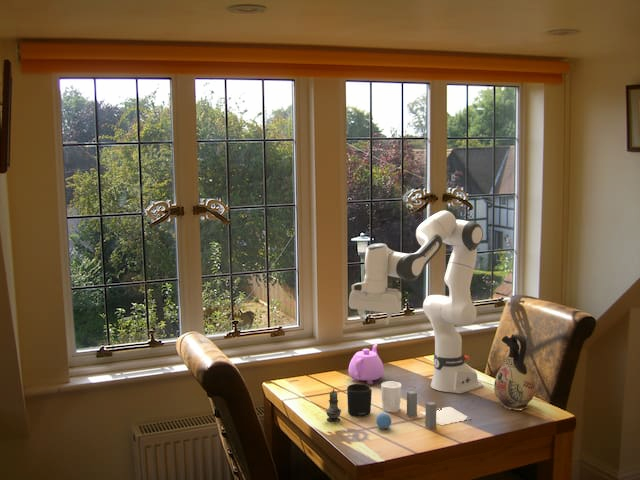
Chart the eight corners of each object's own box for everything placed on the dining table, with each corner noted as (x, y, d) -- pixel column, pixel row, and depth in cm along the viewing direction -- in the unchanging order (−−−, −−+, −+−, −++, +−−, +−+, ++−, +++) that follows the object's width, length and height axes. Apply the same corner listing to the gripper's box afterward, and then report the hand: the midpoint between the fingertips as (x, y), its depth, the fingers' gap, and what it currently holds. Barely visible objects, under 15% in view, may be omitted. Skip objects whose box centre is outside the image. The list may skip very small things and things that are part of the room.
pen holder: (343, 415, 264) (343, 390, 263) (352, 407, 273) (352, 382, 272) (366, 419, 261) (366, 393, 259) (374, 410, 269) (375, 385, 268)
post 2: (431, 425, 255) (432, 401, 253) (436, 427, 252) (436, 403, 251) (425, 426, 253) (425, 402, 252) (429, 429, 251) (429, 405, 250)
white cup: (388, 414, 265) (388, 389, 264) (377, 407, 272) (377, 383, 271) (405, 410, 269) (405, 385, 267) (393, 404, 276) (394, 380, 274)
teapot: (361, 369, 320) (361, 340, 318) (392, 374, 313) (392, 344, 311) (340, 383, 300) (340, 352, 299) (373, 389, 293) (373, 357, 291)
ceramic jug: (485, 402, 277) (487, 329, 273) (517, 397, 283) (519, 326, 279) (512, 417, 261) (514, 340, 257) (545, 412, 267) (548, 336, 263)
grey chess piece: (325, 417, 263) (325, 386, 261) (340, 416, 263) (340, 386, 262) (326, 423, 257) (326, 391, 255) (342, 422, 257) (342, 391, 256)
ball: (386, 424, 255) (386, 409, 255) (394, 429, 250) (394, 415, 250) (373, 426, 253) (373, 412, 252) (380, 432, 248) (381, 417, 247)
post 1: (412, 413, 266) (413, 390, 265) (416, 415, 264) (417, 392, 262) (406, 414, 265) (406, 391, 264) (410, 416, 262) (410, 394, 261)
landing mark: (449, 407, 272) (449, 406, 272) (471, 419, 260) (471, 418, 260) (419, 412, 266) (419, 412, 266) (440, 425, 254) (440, 425, 254)
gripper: (404, 288, 260) (403, 324, 261) (353, 283, 268) (352, 318, 270) (399, 290, 254) (397, 327, 256) (347, 285, 263) (346, 321, 264)
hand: (374, 322), depth 263 cm, fingers open, 8 cm apart
